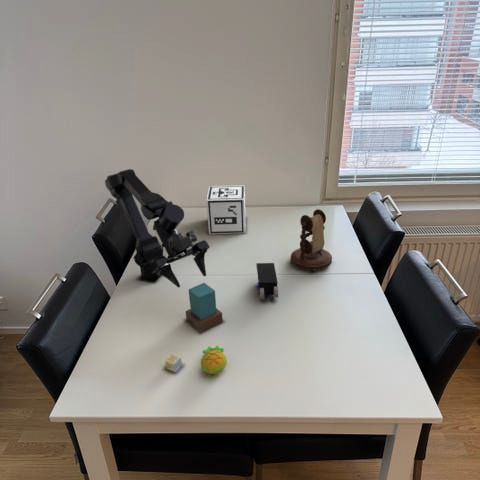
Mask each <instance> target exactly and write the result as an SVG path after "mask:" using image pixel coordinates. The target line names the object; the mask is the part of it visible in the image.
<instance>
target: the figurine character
mask: <svg viewBox="0 0 480 480" xmlns="http://www.w3.org/2000/svg"><path fill="white" fill-rule="evenodd" d="M255 265H256V272H257V286H256V288H257V290H258V296H259V300H262V302H266V297H270V299H271V301H272V302H274V301H275V298H277V299H278V298H279V287H278V283H279V282H278V277H277V272H276V271H277V270H276V267H275V266H276V265H275V262H256V264H255Z"/></svg>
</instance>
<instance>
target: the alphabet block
mask: <svg viewBox="0 0 480 480" xmlns="http://www.w3.org/2000/svg"><path fill="white" fill-rule="evenodd" d="M164 362H165V363H164V364H165V368H166V369H167V370H169V371H172V372H173V373H177V372H178V371H179V369H181V368H182V366H183V363H182V357H179V356H177V355H175V354H171V355H169V356H168V357H167V358H166V359H165V361H164Z"/></svg>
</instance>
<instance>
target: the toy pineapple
mask: <svg viewBox="0 0 480 480" xmlns="http://www.w3.org/2000/svg"><path fill="white" fill-rule="evenodd" d="M224 351H225V348H224V347H220V346H219V345H216V346H215V347H212V346H208V347H207V349H203V350H202V353H203V354H204V355H203V356H202V357H201V359H200V367H201V369H202V370H203V371H204V372H206V373H207V374H210V375H216V374H219V373H221V372H222V371H223V370H224V369H225V367H226V366H227V361H228V360H227V356H226V355H225V354H224V353H223V352H224Z"/></svg>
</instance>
